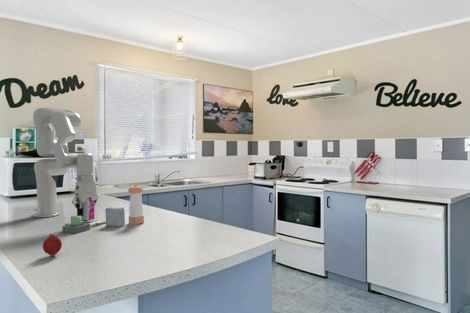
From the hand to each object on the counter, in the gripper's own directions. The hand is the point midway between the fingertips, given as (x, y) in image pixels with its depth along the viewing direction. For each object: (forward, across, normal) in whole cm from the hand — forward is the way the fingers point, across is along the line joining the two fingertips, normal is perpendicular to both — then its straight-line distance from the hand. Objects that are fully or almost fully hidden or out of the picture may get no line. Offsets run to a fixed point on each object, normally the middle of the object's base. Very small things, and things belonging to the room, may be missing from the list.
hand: (85, 214), depth 168 cm
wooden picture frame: (+5, 0, 0) cm, 5 cm away
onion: (+5, -42, -28) cm, 50 cm away
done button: (+3, -12, -6) cm, 14 cm away
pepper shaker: (+5, +10, -22) cm, 25 cm away
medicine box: (+5, +2, -16) cm, 17 cm away
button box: (+5, -12, -6) cm, 14 cm away
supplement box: (+3, 0, 0) cm, 3 cm away
